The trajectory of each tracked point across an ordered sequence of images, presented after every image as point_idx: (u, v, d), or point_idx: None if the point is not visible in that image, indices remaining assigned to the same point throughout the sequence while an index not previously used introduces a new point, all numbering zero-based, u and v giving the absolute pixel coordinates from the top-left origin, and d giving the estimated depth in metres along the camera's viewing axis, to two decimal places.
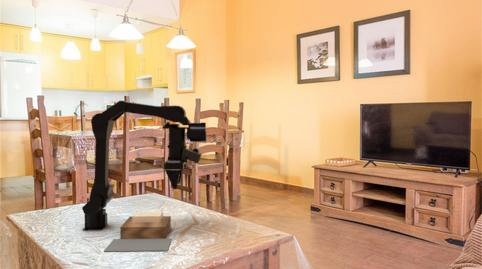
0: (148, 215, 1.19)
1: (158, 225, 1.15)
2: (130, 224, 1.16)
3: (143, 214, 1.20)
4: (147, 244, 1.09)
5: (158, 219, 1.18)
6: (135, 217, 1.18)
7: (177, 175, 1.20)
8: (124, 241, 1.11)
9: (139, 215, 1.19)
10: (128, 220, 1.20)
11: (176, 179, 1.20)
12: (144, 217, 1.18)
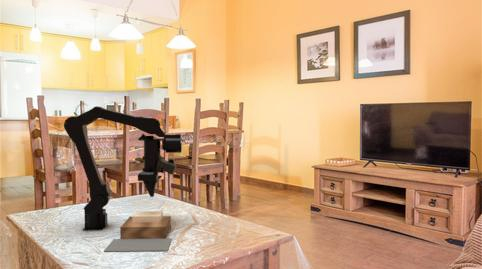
0: (148, 215, 1.19)
1: (158, 225, 1.15)
2: (130, 224, 1.16)
3: (143, 214, 1.20)
4: (147, 244, 1.09)
5: (158, 219, 1.18)
6: (135, 217, 1.18)
7: (153, 184, 1.27)
8: (124, 241, 1.11)
9: (139, 215, 1.19)
10: (128, 220, 1.20)
11: (153, 187, 1.27)
12: (144, 217, 1.18)
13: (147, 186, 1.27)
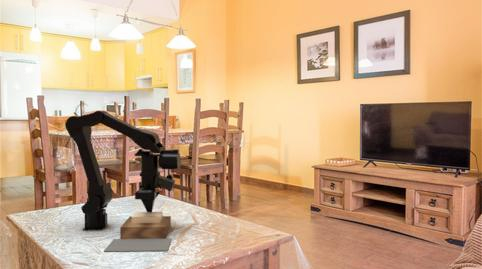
0: (148, 216, 1.18)
1: (158, 225, 1.15)
2: (130, 224, 1.16)
3: (142, 215, 1.19)
4: (147, 244, 1.09)
5: (158, 220, 1.18)
6: (135, 218, 1.17)
7: (151, 201, 1.22)
8: (124, 241, 1.11)
9: (139, 216, 1.18)
10: (128, 220, 1.20)
11: (150, 205, 1.23)
12: (144, 218, 1.17)
13: (145, 203, 1.22)
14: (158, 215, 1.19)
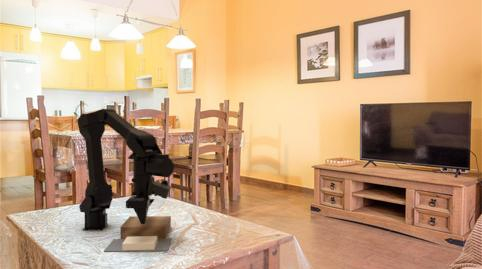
0: None
1: (158, 225, 1.15)
2: (130, 224, 1.16)
3: None
4: None
5: None
6: None
7: (145, 209, 1.11)
8: None
9: None
10: (128, 220, 1.20)
11: (144, 214, 1.12)
12: None
13: (137, 212, 1.11)
14: None
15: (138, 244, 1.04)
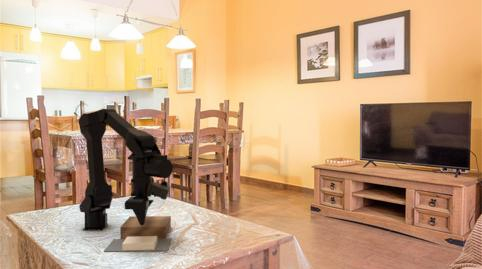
0: None
1: (158, 225, 1.15)
2: (130, 224, 1.16)
3: None
4: None
5: None
6: None
7: (144, 210, 1.10)
8: None
9: None
10: (128, 220, 1.20)
11: (143, 215, 1.11)
12: None
13: (136, 213, 1.10)
14: None
15: (138, 244, 1.04)
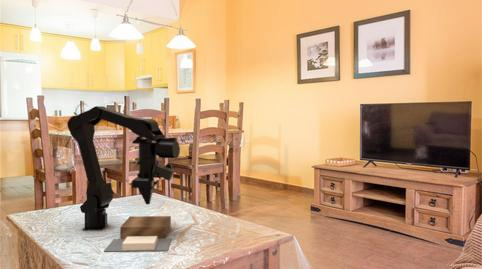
0: None
1: (158, 225, 1.15)
2: (130, 224, 1.16)
3: None
4: None
5: None
6: None
7: (149, 190, 1.18)
8: None
9: None
10: (128, 220, 1.20)
11: (148, 194, 1.18)
12: None
13: (142, 193, 1.18)
14: None
15: (138, 244, 1.04)
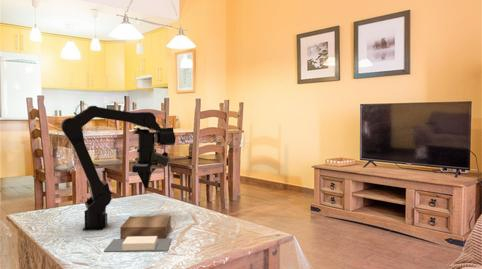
0: None
1: (158, 225, 1.15)
2: (130, 224, 1.16)
3: None
4: None
5: None
6: None
7: (148, 176, 1.32)
8: None
9: None
10: (128, 220, 1.20)
11: (147, 179, 1.32)
12: None
13: (142, 178, 1.32)
14: None
15: (138, 244, 1.04)
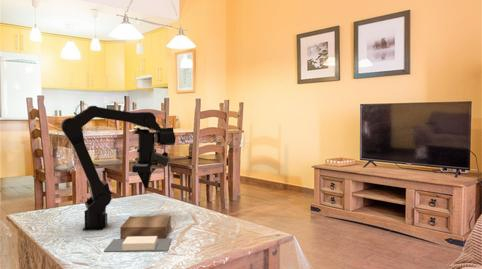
0: None
1: (158, 225, 1.15)
2: (130, 224, 1.16)
3: None
4: None
5: None
6: None
7: (148, 176, 1.32)
8: None
9: None
10: (128, 220, 1.20)
11: (147, 179, 1.32)
12: None
13: (142, 178, 1.32)
14: None
15: (138, 244, 1.04)
